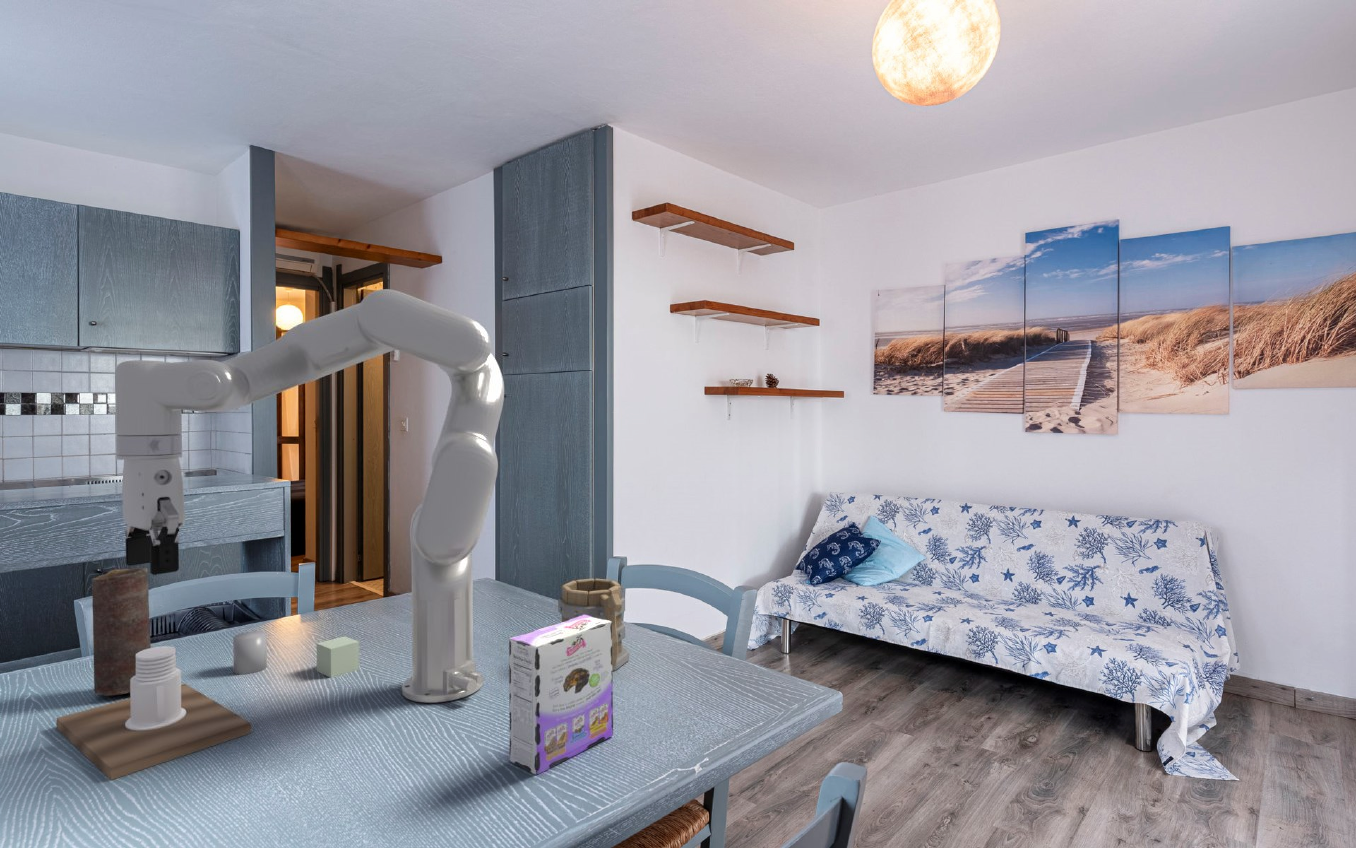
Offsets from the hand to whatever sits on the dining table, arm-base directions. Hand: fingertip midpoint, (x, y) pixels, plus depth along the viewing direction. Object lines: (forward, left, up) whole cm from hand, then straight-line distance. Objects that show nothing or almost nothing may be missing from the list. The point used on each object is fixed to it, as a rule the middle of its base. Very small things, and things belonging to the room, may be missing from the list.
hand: (151, 568), depth 101 cm
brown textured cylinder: (+20, -2, -24) cm, 31 cm away
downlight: (0, 0, -22) cm, 22 cm away
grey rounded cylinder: (+15, -19, -23) cm, 33 cm away
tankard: (-34, -56, -24) cm, 70 cm away
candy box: (-51, -31, -24) cm, 64 cm away
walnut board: (0, 0, -23) cm, 23 cm away
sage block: (+2, -28, -23) cm, 36 cm away
